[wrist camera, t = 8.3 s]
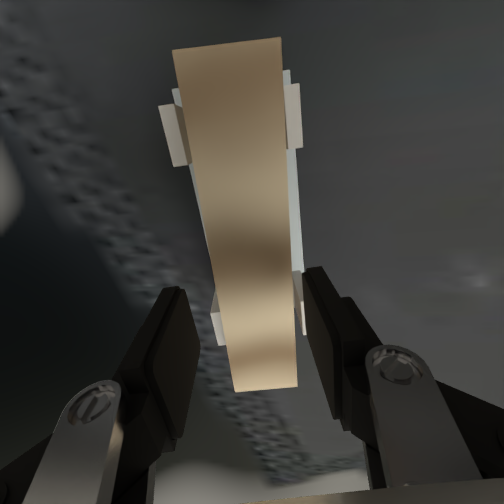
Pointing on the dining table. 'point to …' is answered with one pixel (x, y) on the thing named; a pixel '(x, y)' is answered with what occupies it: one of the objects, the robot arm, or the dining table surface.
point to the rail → (244, 200)
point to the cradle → (293, 129)
